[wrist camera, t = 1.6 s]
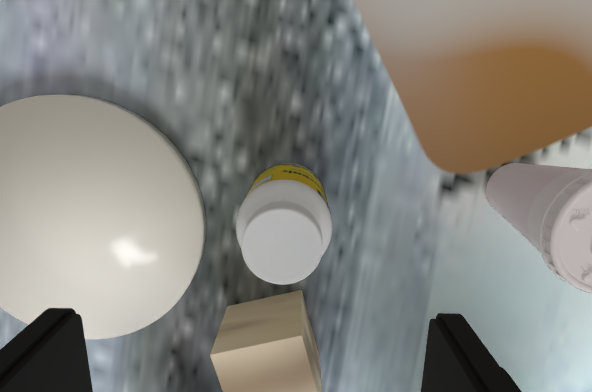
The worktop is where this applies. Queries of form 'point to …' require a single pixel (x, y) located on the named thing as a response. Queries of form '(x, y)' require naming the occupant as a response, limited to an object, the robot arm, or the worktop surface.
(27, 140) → the ceramic plate
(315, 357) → the ash block
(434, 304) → the worktop surface
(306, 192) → the supplement bottle
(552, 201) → the smoothie
